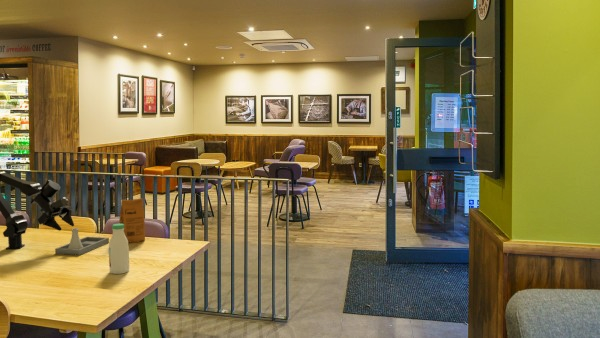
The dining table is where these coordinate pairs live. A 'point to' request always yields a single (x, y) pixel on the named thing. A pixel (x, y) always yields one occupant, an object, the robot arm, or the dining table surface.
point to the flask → (75, 240)
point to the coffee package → (133, 220)
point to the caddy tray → (87, 243)
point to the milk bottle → (118, 250)
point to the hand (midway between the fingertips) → (67, 227)
